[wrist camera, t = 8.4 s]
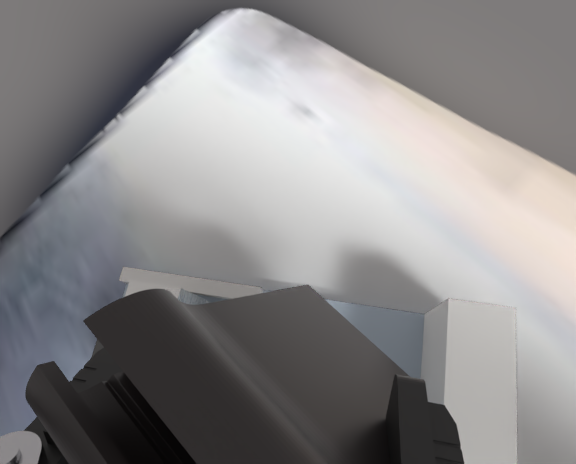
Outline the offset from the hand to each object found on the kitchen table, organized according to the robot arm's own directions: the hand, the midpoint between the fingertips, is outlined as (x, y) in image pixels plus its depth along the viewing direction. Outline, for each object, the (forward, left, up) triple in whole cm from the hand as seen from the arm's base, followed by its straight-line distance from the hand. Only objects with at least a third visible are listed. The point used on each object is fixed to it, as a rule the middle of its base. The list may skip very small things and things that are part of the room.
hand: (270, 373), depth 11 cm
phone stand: (0, +2, -6) cm, 7 cm away
